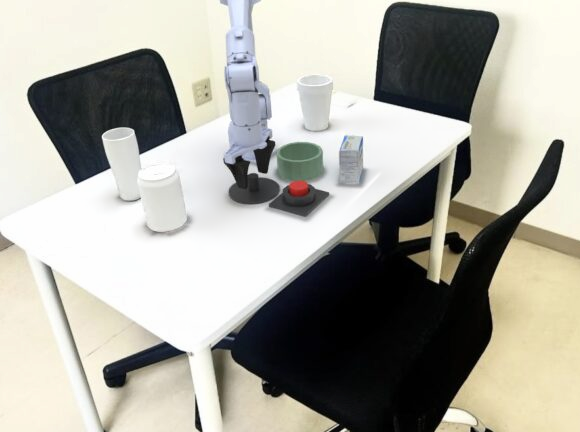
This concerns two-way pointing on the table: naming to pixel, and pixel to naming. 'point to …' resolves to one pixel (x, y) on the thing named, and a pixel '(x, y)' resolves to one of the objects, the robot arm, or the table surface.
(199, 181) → the table surface
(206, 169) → the table surface
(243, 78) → the robot arm
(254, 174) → the lid
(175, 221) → the beverage can
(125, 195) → the drinking glass
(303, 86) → the foam cup
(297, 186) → the button
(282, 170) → the green pot
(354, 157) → the medicine box
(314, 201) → the button base
